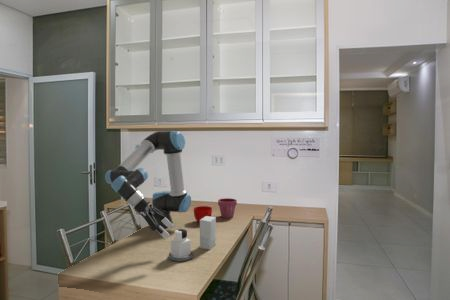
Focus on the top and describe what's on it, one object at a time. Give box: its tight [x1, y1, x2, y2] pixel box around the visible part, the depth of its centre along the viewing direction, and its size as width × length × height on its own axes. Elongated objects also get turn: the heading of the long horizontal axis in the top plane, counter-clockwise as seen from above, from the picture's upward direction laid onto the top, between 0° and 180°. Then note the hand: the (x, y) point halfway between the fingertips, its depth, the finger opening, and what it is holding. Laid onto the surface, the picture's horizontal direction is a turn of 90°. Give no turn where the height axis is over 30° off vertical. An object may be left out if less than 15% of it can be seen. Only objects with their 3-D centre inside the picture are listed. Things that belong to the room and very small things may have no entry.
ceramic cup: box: [193, 205, 213, 224], centre depth 192 cm, size 13×17×10 cm
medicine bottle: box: [170, 228, 192, 258], centre depth 135 cm, size 7×7×12 cm
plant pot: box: [217, 197, 238, 219], centre depth 208 cm, size 14×14×13 cm
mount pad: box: [168, 251, 194, 263], centre depth 135 cm, size 12×12×1 cm
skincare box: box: [199, 216, 217, 250], centre depth 148 cm, size 8×7×16 cm
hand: (170, 232), depth 134 cm, fingers open, 13 cm apart
